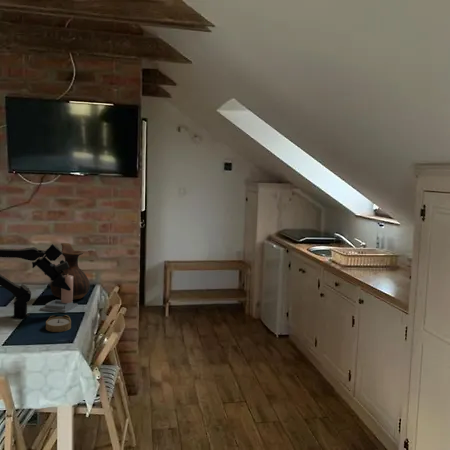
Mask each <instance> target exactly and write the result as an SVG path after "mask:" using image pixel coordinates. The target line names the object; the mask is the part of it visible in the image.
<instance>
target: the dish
mask: <svg viewBox="0 0 450 450" xmlns="http://www.w3.org/2000/svg"><path fill="white" fill-rule="evenodd" d="M78 305H79V304H78V303H76V302H75V303H74V301H73V302H71V303H62V302H61V299H55V300H54V299H53V300H51V301H49V302H46V303H45V305H43V306H41V307H39V308H40V309H39V311H44V312H54V313H62V314H63V313H64V314H65V313H68V312H69V311H71V310H72V309H75V308H77V307H78Z"/></svg>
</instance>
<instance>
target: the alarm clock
mask: <svg viewBox="0 0 450 450" xmlns="http://www.w3.org/2000/svg"><path fill="white" fill-rule="evenodd" d="M71 328H72V320H71V317H70V315H67V314H65V315H61V316H60V315H59V316H58V315H57V316H56V315H51V316H49V317H48V319H47V320H46V321H45V330H46V331H48V332H50V333H51V332H52V333H61V332H67V331H69V330H71Z"/></svg>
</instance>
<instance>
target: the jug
mask: <svg viewBox="0 0 450 450" xmlns="http://www.w3.org/2000/svg"><path fill="white" fill-rule="evenodd" d="M60 245H61V251H62V254H61V255H62V256H63V257H64V261H67V263H68V265H69V268H68V269H65V270H63V271H64V272H62V273H61V274H63V273H65V275H67V274H68V275H71V276H73V301H74V300H81V299H82V298H84V297H85V296H86V295H87V294H88V293H89V291H90V289H91V284H90V280H89V277H87V275H86V273H85V272H84V271H83V270H82V269H81V268H80V267H79V264H78V263H79V261H78V260H79V257H80V256H82V255H83V254H84V252H83V251H82V250H74V248H73V246H72V244H71V243H70V242H69V243H67V242H66V243H65V242H61V243H60ZM50 291H51V294H52V295H53V296H54V297H57V298H59V300H61V288H59V287H54V286H53V285H52V281H51V282H50Z"/></svg>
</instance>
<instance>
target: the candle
mask: <svg viewBox="0 0 450 450" xmlns="http://www.w3.org/2000/svg"><path fill="white" fill-rule="evenodd" d="M64 277H65V282H66V283H67V285H68V286H69V287H70V289H71V290H70V291H68V290H65V289H62V288H61V299H60V300H61V302H62V303H71V302H73V303H74V300H73V276H71V275H68V274H67V275H64Z"/></svg>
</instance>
